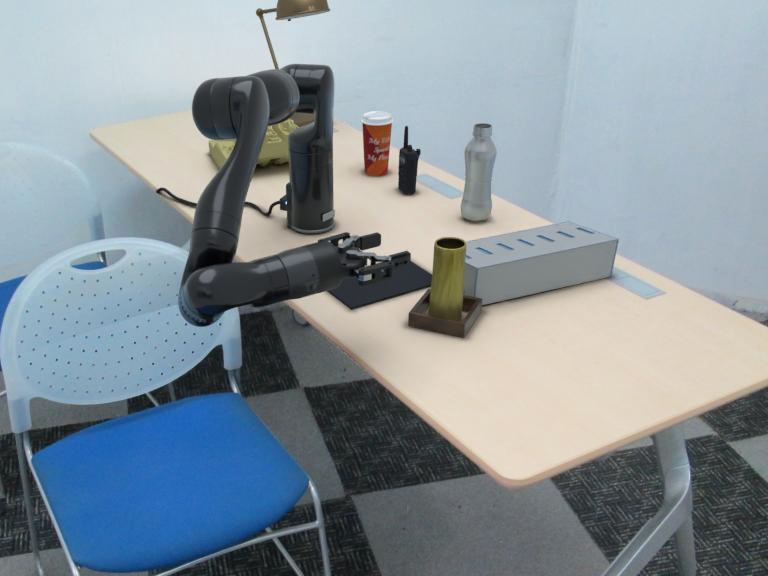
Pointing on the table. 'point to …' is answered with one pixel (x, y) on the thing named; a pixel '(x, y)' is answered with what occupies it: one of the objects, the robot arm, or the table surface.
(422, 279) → the mat
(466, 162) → the plastic bottle
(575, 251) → the warehouse
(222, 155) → the control panel
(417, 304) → the holder
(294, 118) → the lamp
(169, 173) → the table surface
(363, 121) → the paper cup
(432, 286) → the vase
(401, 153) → the two-way radio
